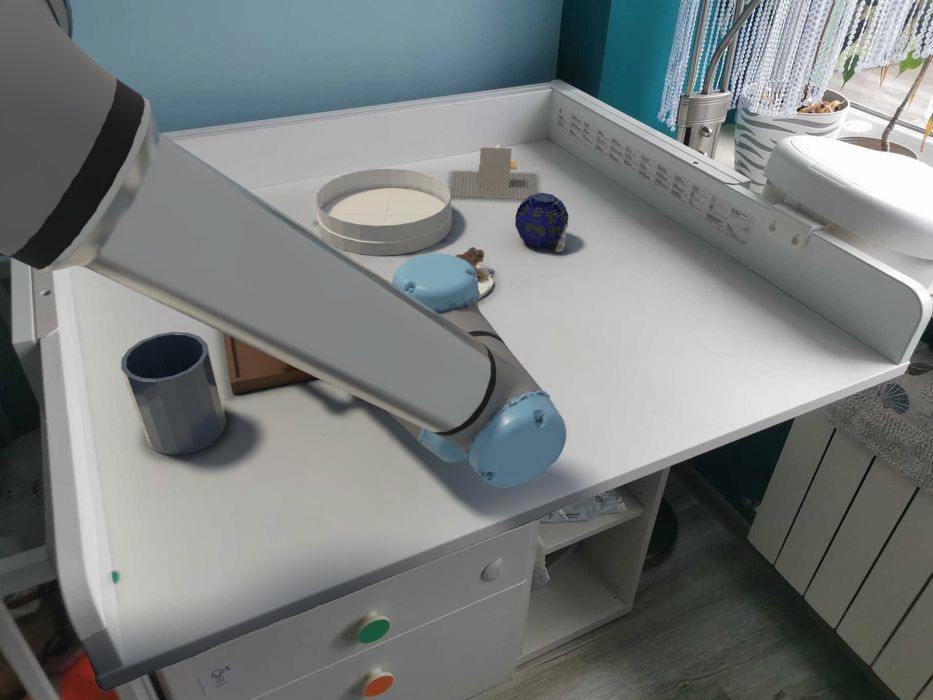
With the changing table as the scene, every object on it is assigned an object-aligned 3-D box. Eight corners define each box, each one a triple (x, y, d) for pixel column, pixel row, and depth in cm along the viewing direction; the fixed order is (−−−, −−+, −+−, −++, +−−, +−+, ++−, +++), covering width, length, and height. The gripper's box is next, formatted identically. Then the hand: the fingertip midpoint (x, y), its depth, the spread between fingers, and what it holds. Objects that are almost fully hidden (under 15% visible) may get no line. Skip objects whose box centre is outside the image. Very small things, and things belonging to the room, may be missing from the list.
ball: (571, 236, 114) (576, 192, 109) (558, 257, 108) (563, 212, 103) (524, 227, 116) (527, 184, 111) (509, 247, 110) (512, 203, 106)
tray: (232, 394, 81) (230, 383, 80) (221, 313, 94) (218, 303, 93) (396, 361, 86) (395, 350, 85) (363, 289, 100) (362, 279, 98)
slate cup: (146, 462, 72) (119, 388, 66) (146, 412, 78) (122, 340, 72) (229, 444, 74) (210, 371, 68) (222, 396, 80) (205, 326, 74)
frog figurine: (457, 253, 109) (457, 230, 106) (511, 283, 102) (513, 260, 99) (398, 277, 102) (397, 254, 100) (453, 312, 95) (453, 288, 93)
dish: (450, 257, 107) (450, 227, 104) (306, 254, 107) (302, 225, 104) (452, 195, 125) (453, 169, 122) (329, 193, 125) (326, 167, 122)
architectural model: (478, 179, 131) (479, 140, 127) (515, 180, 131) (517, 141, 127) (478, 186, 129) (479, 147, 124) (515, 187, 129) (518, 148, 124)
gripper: (297, 426, 72) (206, 326, 85) (456, 349, 83) (352, 272, 96) (287, 369, 67) (192, 273, 81) (457, 295, 78) (348, 222, 92)
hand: (279, 272), depth 89 cm, fingers closed on terracotta cup, 8 cm apart
